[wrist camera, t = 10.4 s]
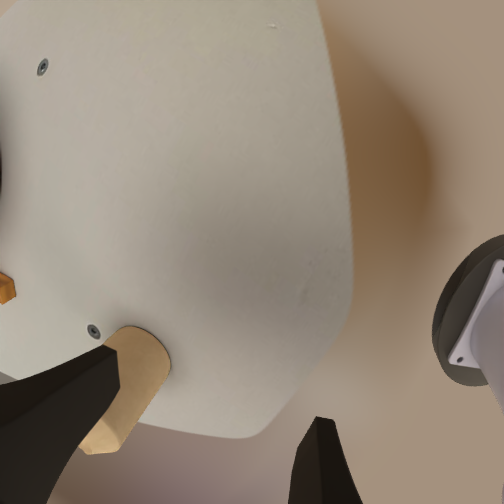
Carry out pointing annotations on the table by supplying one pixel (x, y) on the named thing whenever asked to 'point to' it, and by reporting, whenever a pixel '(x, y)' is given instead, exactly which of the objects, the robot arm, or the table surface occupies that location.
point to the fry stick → (6, 289)
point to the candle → (129, 388)
